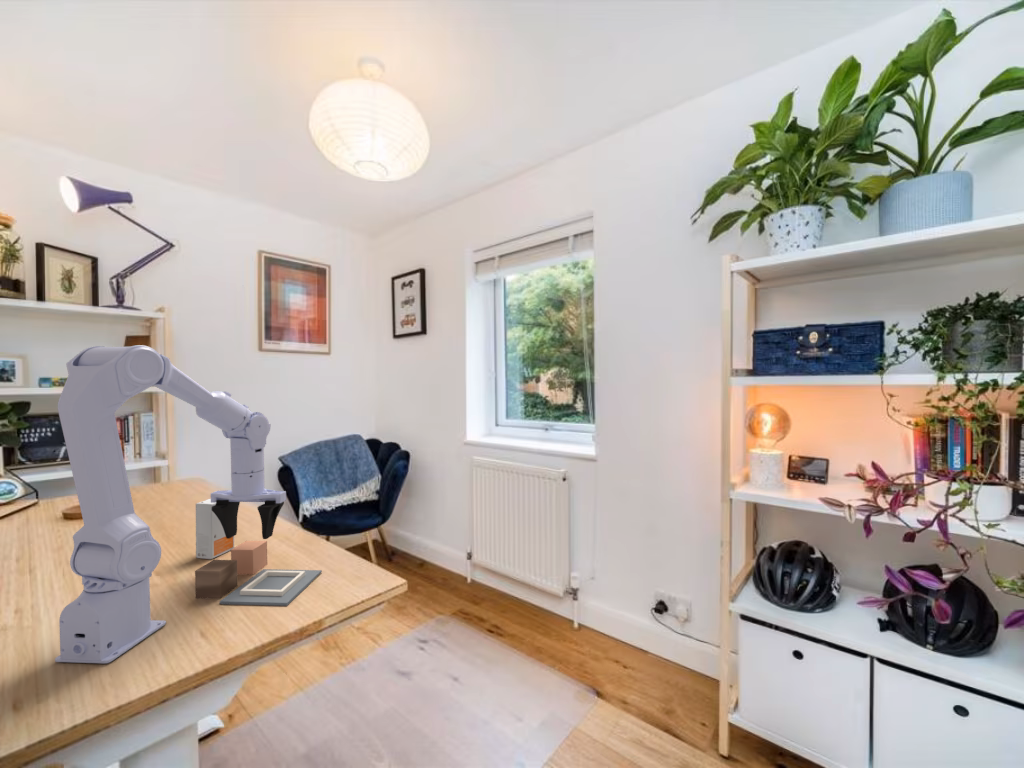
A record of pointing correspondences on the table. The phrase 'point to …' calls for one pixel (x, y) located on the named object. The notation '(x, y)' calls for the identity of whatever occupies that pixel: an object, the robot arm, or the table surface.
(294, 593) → the board
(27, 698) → the table surface
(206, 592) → the walnut block
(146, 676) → the table surface
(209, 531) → the skincare box
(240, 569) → the terracotta block
